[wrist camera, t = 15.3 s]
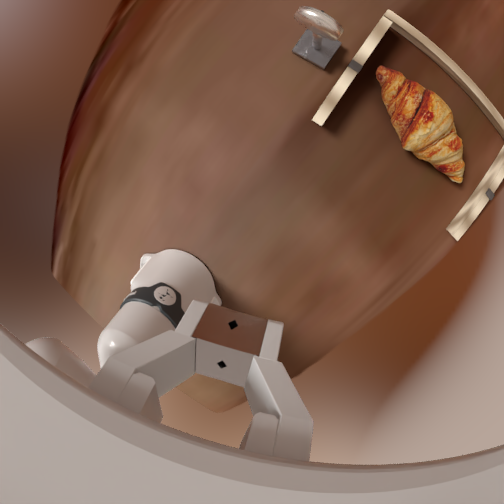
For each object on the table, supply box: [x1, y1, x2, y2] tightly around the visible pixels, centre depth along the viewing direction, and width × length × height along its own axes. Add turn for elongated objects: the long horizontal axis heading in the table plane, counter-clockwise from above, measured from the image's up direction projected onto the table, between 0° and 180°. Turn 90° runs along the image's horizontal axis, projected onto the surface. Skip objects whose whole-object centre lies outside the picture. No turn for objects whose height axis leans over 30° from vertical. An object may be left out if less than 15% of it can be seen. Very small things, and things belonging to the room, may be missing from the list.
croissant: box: [376, 65, 465, 183], centre depth 29 cm, size 21×10×8 cm
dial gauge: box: [292, 6, 343, 70], centre depth 23 cm, size 5×5×14 cm
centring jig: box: [312, 9, 504, 241], centre depth 29 cm, size 22×30×4 cm
